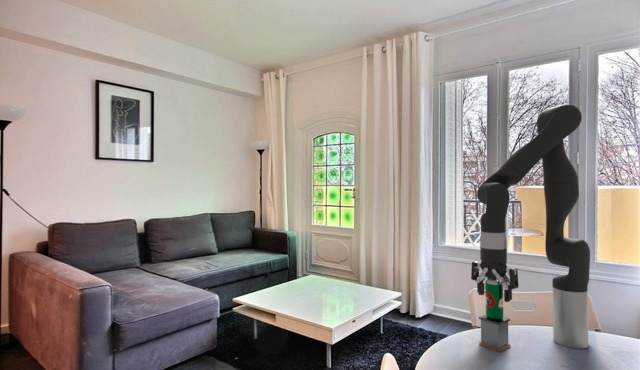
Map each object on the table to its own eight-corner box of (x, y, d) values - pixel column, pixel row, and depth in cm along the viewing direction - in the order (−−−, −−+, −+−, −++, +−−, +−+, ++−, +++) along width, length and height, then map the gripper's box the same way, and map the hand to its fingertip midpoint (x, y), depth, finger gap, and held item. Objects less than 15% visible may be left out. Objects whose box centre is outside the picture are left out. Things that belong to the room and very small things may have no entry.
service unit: (490, 340, 117) (490, 312, 117) (510, 347, 112) (510, 318, 112) (479, 344, 114) (478, 316, 114) (498, 352, 108) (498, 323, 108)
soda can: (503, 321, 109) (502, 282, 109) (484, 318, 112) (484, 280, 112) (504, 316, 114) (503, 278, 113) (486, 313, 116) (486, 276, 116)
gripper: (522, 248, 109) (523, 301, 109) (479, 242, 121) (480, 290, 121) (508, 250, 105) (509, 306, 105) (465, 244, 117) (466, 294, 117)
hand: (494, 298), depth 113 cm, fingers open, 8 cm apart
